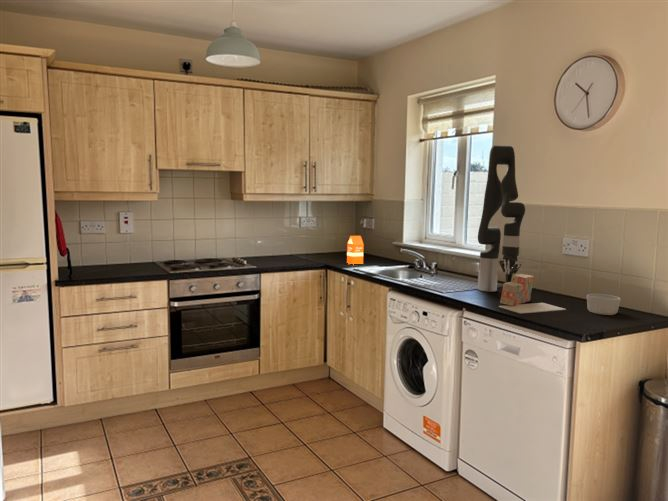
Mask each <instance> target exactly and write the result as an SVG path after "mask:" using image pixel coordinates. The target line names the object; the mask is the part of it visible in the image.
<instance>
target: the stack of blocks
mask: <svg viewBox="0 0 668 501" xmlns="http://www.w3.org/2000/svg"><path fill="white" fill-rule="evenodd" d="M534 278H535V276H534V275H530V274H525V273H517V274H516V273H515V274H513V275H512V279H511V282H503V284H502V290H501V296H500V300H499V303H500V304H504V305H511V306H514V305H519V304H526V303H528V302H530V301H531V297H532V290H533V284H534Z"/></svg>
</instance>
